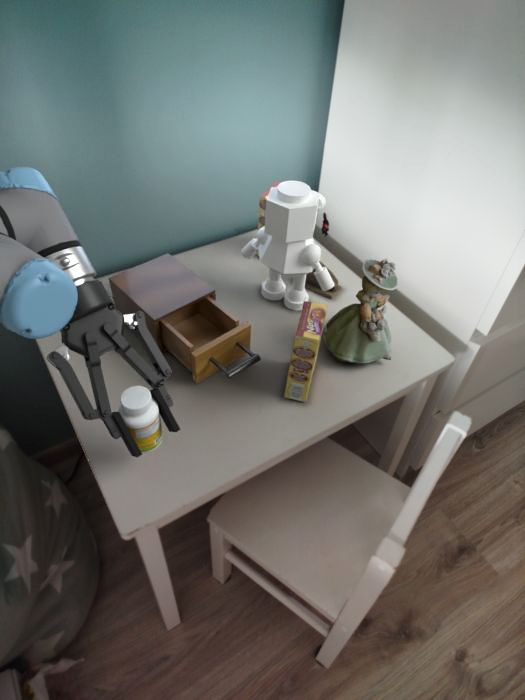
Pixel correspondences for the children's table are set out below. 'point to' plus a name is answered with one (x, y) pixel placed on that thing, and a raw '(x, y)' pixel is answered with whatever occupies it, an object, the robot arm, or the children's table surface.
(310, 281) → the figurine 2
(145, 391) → the supplement bottle
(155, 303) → the cabinet
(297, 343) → the candy box
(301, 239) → the robot toy
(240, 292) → the children's table surface
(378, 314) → the figurine
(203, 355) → the drawer
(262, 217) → the candy box
